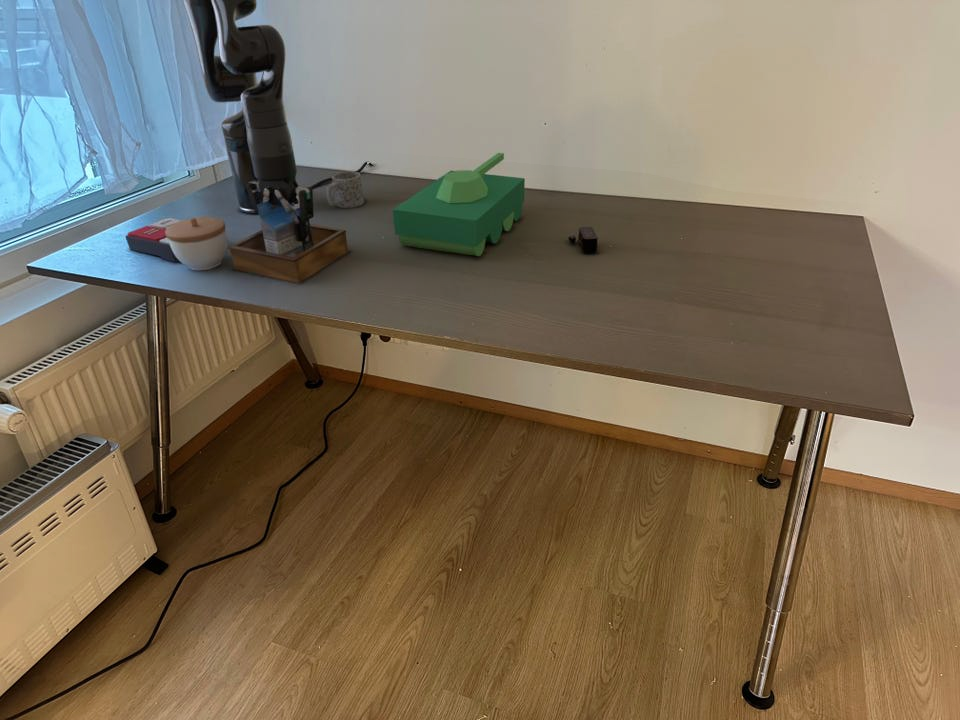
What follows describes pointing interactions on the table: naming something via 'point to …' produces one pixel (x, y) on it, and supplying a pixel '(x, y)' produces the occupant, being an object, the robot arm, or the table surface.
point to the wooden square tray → (296, 269)
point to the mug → (346, 190)
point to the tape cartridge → (281, 231)
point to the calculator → (153, 239)
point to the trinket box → (198, 242)
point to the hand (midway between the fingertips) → (288, 237)
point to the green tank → (461, 211)
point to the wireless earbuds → (586, 239)
